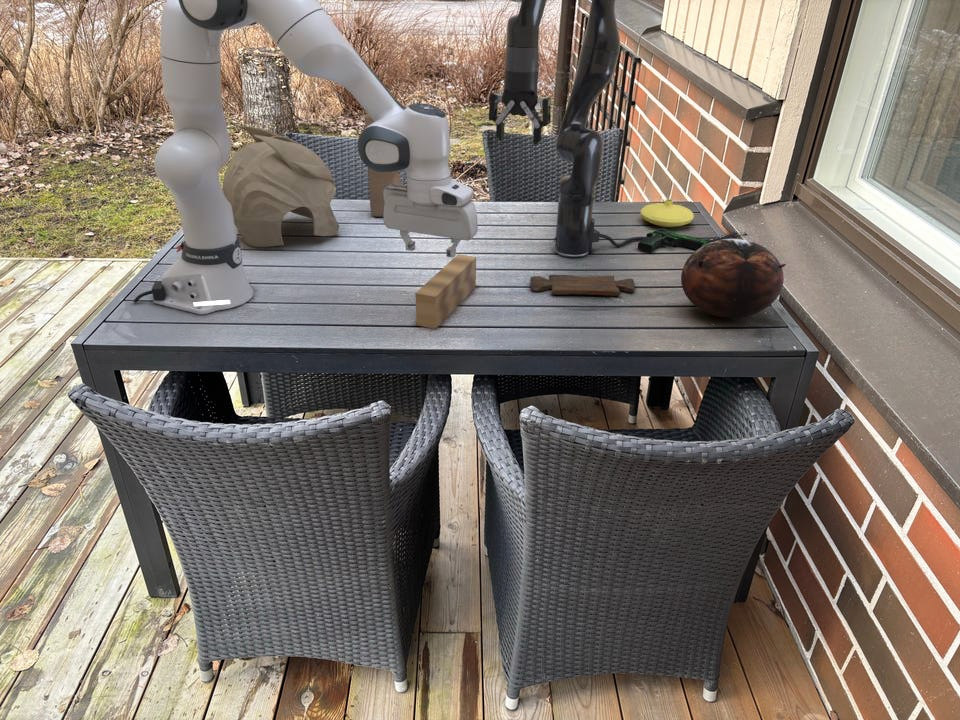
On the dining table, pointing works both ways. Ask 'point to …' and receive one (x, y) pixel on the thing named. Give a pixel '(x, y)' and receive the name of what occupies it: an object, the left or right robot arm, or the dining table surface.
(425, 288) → the bar
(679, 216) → the yellow knobbed lid
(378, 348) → the dining table surface
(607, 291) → the dark wooden board
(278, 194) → the helmet
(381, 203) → the decorative block
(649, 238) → the handgun
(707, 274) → the brown coconut
